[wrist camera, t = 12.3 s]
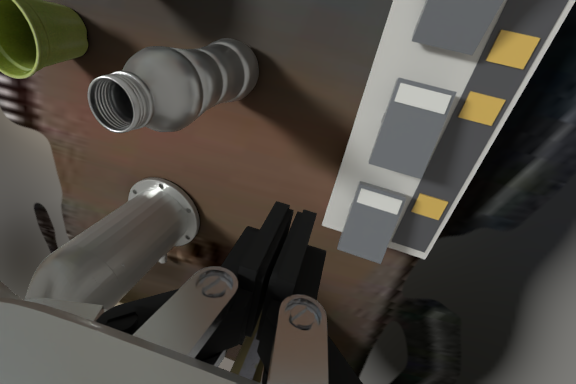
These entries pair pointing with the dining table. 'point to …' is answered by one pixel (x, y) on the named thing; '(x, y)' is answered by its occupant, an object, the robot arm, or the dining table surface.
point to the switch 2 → (411, 127)
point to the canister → (249, 358)
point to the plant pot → (38, 36)
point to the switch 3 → (455, 23)
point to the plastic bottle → (172, 86)
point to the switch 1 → (371, 221)
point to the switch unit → (461, 117)
